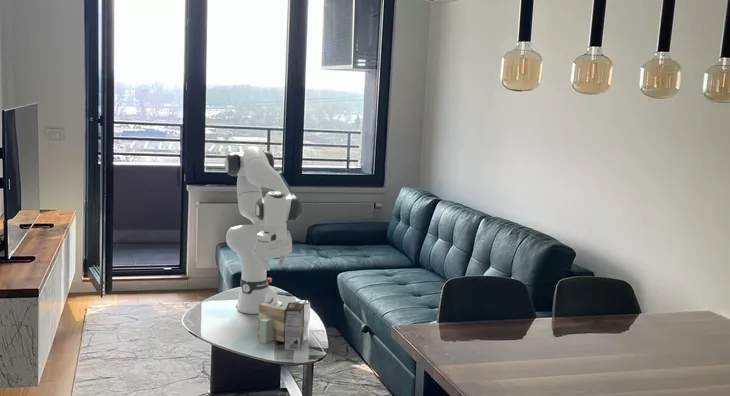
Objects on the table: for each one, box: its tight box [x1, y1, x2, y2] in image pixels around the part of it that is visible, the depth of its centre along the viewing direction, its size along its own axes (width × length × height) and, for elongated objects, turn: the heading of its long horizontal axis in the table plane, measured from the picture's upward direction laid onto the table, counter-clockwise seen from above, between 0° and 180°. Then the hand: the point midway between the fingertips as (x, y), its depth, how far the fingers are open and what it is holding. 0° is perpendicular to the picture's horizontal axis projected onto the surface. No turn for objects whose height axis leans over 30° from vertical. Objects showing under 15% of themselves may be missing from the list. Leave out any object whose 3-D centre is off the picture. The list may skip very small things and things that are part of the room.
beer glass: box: [293, 300, 311, 343], centre depth 275 cm, size 7×7×15 cm
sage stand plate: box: [258, 317, 276, 345], centre depth 275 cm, size 14×3×9 cm, turn 153°
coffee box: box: [284, 302, 304, 351], centre depth 267 cm, size 9×6×16 cm
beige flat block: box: [257, 303, 287, 343], centre depth 275 cm, size 3×12×13 cm, turn 63°
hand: (274, 267), depth 272 cm, fingers open, 8 cm apart
